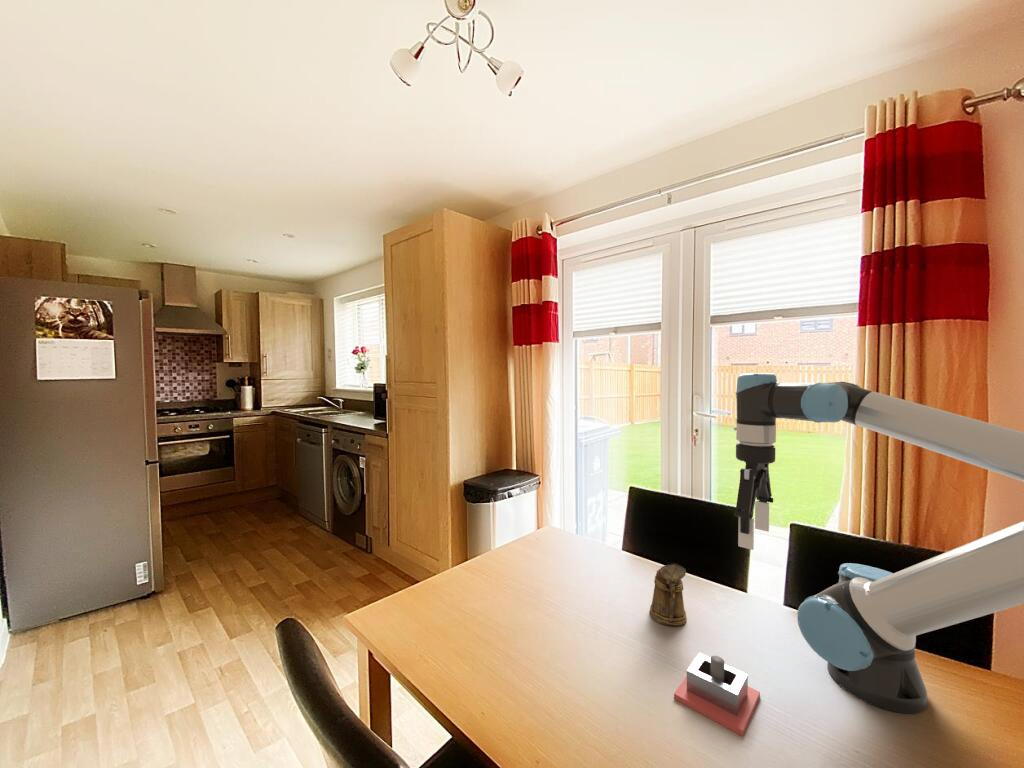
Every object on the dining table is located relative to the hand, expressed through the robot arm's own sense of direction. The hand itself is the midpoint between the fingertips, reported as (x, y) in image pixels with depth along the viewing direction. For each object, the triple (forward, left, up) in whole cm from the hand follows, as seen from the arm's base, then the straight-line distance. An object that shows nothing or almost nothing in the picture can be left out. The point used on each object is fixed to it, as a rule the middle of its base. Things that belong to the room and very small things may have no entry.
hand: (754, 538), depth 91 cm
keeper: (+2, +18, -27) cm, 32 cm away
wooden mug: (+19, 0, -27) cm, 33 cm away
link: (+2, +18, -26) cm, 31 cm away
